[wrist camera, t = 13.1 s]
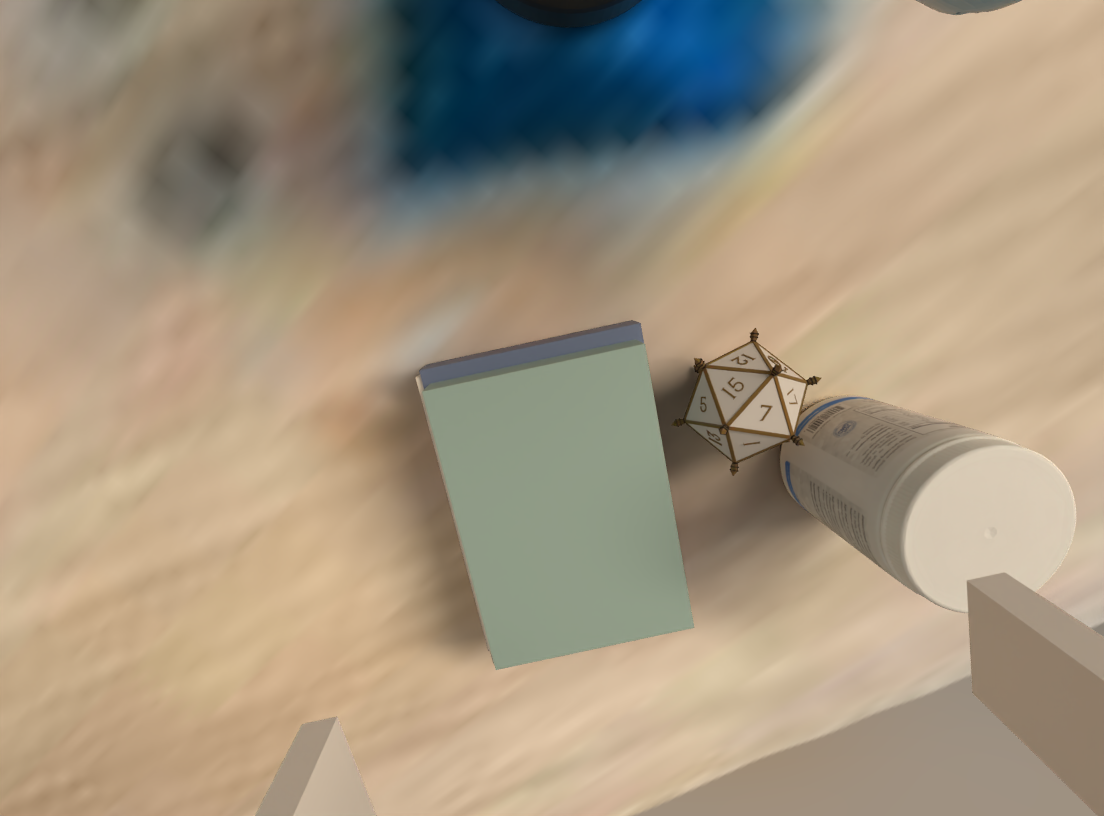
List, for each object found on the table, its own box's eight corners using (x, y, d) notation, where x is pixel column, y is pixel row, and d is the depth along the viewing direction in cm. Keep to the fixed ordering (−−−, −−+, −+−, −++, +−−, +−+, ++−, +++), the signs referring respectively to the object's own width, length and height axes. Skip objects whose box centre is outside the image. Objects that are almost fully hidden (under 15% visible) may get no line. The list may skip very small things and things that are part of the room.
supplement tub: (879, 518, 44) (1048, 629, 30) (762, 505, 44) (878, 613, 29) (911, 398, 42) (1109, 455, 28) (789, 383, 42) (927, 433, 27)
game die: (778, 513, 38) (680, 430, 45) (868, 417, 37) (753, 346, 43) (730, 479, 31) (625, 387, 38) (837, 360, 30) (708, 287, 37)
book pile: (421, 365, 40) (403, 379, 34) (632, 320, 40) (649, 325, 34) (492, 633, 45) (486, 684, 39) (680, 592, 45) (703, 638, 39)
